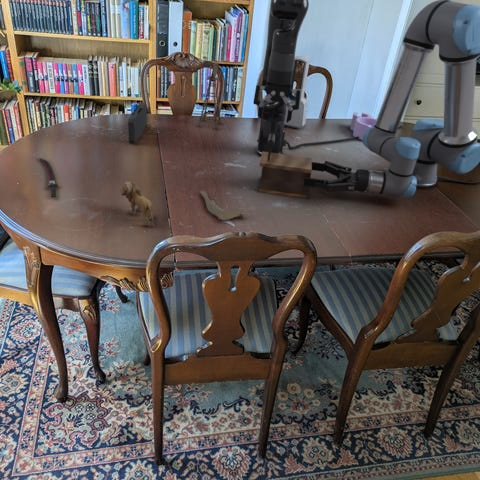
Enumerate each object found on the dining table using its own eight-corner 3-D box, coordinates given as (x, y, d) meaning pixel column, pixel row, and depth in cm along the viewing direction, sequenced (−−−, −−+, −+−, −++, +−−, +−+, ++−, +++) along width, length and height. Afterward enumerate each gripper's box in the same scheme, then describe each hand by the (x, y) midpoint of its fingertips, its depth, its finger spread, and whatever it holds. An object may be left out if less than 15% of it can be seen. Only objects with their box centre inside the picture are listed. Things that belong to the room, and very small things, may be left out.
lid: (259, 166, 152) (262, 140, 147) (261, 154, 161) (264, 130, 156) (311, 173, 151) (315, 147, 146) (310, 161, 160) (315, 136, 155)
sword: (61, 197, 141) (61, 193, 140) (50, 198, 139) (50, 194, 139) (49, 160, 164) (48, 156, 163) (39, 160, 163) (39, 157, 162)
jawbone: (230, 228, 136) (231, 222, 135) (181, 203, 146) (181, 197, 145) (250, 215, 142) (250, 210, 140) (201, 192, 152) (201, 187, 151)
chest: (259, 191, 157) (262, 167, 152) (261, 179, 165) (264, 155, 161) (306, 198, 156) (311, 173, 151) (306, 185, 165) (310, 161, 160)
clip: (343, 126, 223) (346, 112, 219) (367, 127, 225) (371, 113, 221) (360, 142, 206) (364, 127, 202) (386, 142, 209) (390, 127, 205)
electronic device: (305, 125, 218) (316, 58, 202) (301, 130, 212) (313, 61, 196) (279, 120, 221) (289, 53, 205) (275, 124, 215) (284, 56, 199)
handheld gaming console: (140, 124, 200) (139, 101, 194) (146, 125, 200) (146, 101, 194) (127, 143, 180) (126, 118, 175) (135, 144, 180) (134, 119, 175)
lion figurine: (118, 210, 138) (116, 182, 133) (132, 204, 141) (131, 177, 137) (151, 229, 130) (150, 201, 126) (165, 223, 134) (165, 195, 129)
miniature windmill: (216, 129, 203) (221, 57, 187) (197, 126, 204) (200, 54, 188) (221, 123, 211) (226, 53, 194) (203, 120, 212) (206, 50, 195)
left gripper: (256, 67, 137) (250, 120, 146) (304, 73, 136) (296, 126, 145) (258, 61, 143) (253, 113, 152) (304, 67, 143) (296, 119, 151)
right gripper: (368, 208, 147) (301, 199, 148) (360, 176, 168) (302, 168, 169) (374, 187, 143) (305, 178, 144) (365, 156, 164) (305, 148, 165)
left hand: (274, 119), depth 149 cm, fingers open, 8 cm apart
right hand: (303, 172), depth 157 cm, fingers open, 13 cm apart
